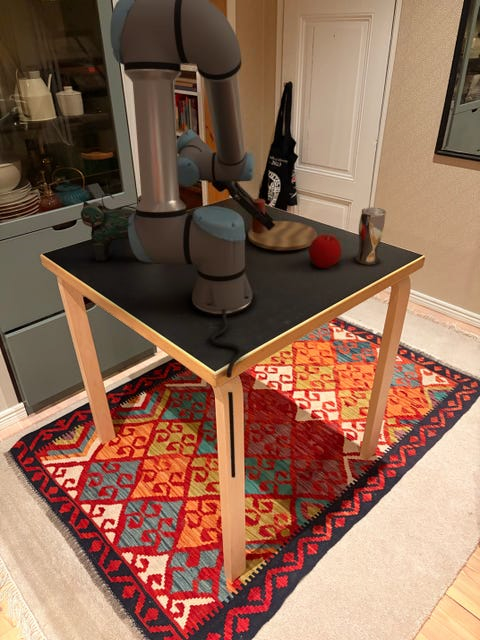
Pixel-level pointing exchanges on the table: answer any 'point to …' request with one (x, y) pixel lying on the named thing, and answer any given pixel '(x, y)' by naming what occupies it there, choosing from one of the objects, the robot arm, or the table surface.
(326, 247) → the fruit
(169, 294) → the table surface
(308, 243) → the wooden round stand
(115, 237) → the ceramic cat
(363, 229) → the beer glass
